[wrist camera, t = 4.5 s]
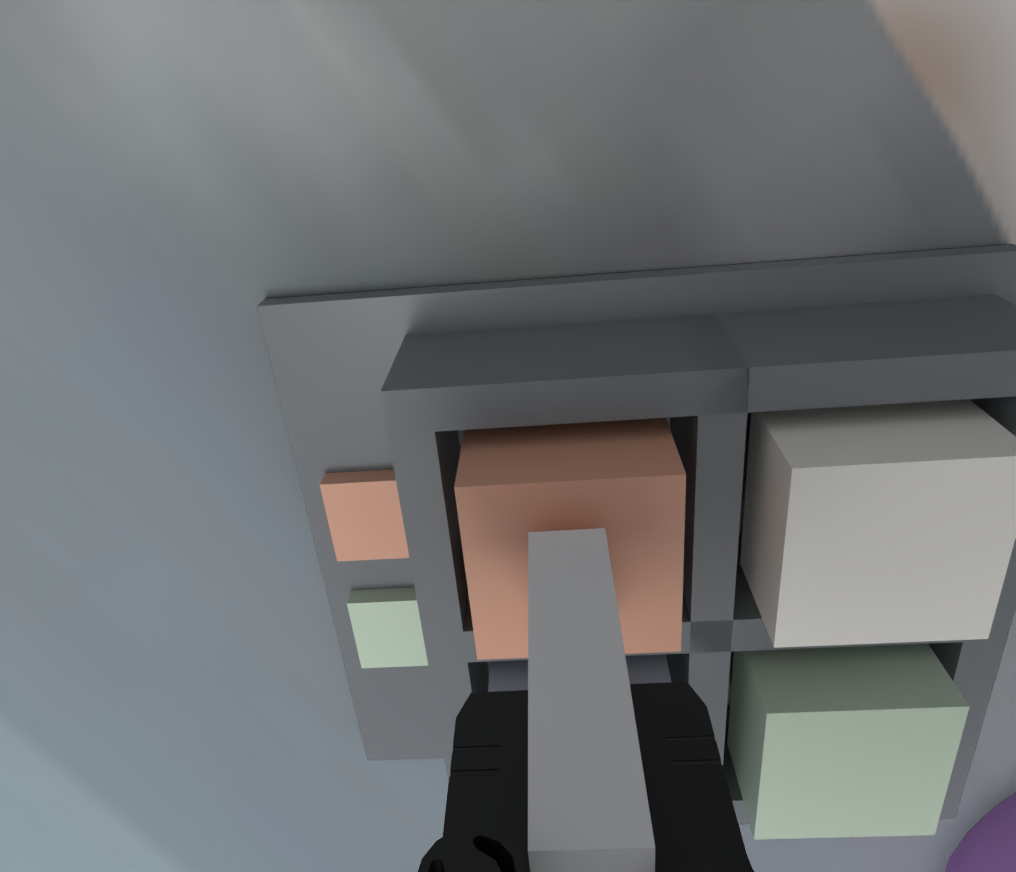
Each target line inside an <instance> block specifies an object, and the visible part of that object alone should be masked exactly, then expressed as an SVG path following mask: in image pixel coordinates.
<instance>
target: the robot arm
mask: <svg viewBox="0 0 1016 872" xmlns="http://www.w3.org/2000/svg"><path fill="white" fill-rule="evenodd" d="M418 872H754V871H753V869H752V867H751V864H750V862H749V859H748V857H747V854H746V851H745V847H744V843H743V839H742V836H741V832H740V828H739V824H738V821H737V817H736V813H735V809H734V806H733V802H732V798H731V795H730V791H729V787H728V783H727V780H726V776H725V772H724V768H723V765H722V764H721V757H720V754H719V750H718V746H717V742H716V741H715V735H714V731H713V727H712V724H711V720H710V716H709V712H708V709H707V706H706V705H705V703H704V702H703V701H702V700H701V698H700V697H699V696H698V695H697V693H696V692H695V691H694V690H693V688H692V687H691V686H690V685H689V683H688V682H666V683H642V684H630V683H629V677H628V670H627V664H626V657H625V651H624V645H623V638H622V632H621V626H620V619H619V613H618V606H617V600H616V594H615V587H614V581H613V575H612V568H611V562H610V555H609V549H608V543H607V536H606V530H605V528H597V529H579V530H560V531H542V532H528V690H518V691H494V692H471V693H470V695H469V697H468V698H467V700H466V702H465V703H464V705H463V707H462V708H461V710H460V712H459V713H458V715H457V717H456V721H455V730H454V739H453V752H452V758H451V767H450V776H449V785H448V794H447V804H446V813H445V822H444V831H443V837H442V838H441V839H439V840H437V841H436V842H435V843H434V845H433V846H432V847H431V848H430V850H429V851H428V852H427V853H426V855H425V856H424V857H423V858H422V861H421V864H420V867H419V870H418Z"/></svg>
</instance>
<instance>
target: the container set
mask: <svg viewBox="0 0 1016 872" xmlns="http://www.w3.org/2000/svg"><path fill="white" fill-rule="evenodd" d="M945 872H1016V792H1015V793H1014V794H1013V795H1011V796H1010V797H1008V798H1007V799H1005V800H1004V801H1002V802H1001V803H999V804H998V805H996V806H995V807H994V808H993V809H992V810H991V811H990V812H989V813H988V814H987V815H986V816H984V817H983V818H982V819H981V820H980V821H979V822H978V823H977V824H976V825H975V826H974V827H973V828H972V829H971V830H970V831H969V832H968V833H967V834H966V836H965V837H964V839H963V840H962V841H961V843H960V844H959V846H958V847H957V848H956V850H955V851H954V853H953V854H952V855H951V857H950V859H949V862H948V864H947V867H946V869H945Z"/></svg>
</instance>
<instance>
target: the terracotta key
mask: <svg viewBox="0 0 1016 872" xmlns="http://www.w3.org/2000/svg"><path fill="white" fill-rule="evenodd" d="M454 490H455V497H456V505H457V512H458V520H459V527H460V535H461V542H462V549H463V557H464V564H465V572H466V579H467V587H468V594H469V602H470V609H471V616H472V624H473V631H474V639H475V646H476V654H477V660H486V659H510V658H528V532H542V531H560V530H579V529H597V528H605V530H606V536H607V543H608V549H609V555H610V562H611V568H612V575H613V581H614V587H615V594H616V600H617V606H618V613H619V619H620V626H621V632H622V638H623V645H624V651H625V654H632V653H657V652H681V635H682V601H683V567H684V533H685V499H686V473H685V470H684V467H683V464H682V461H681V459H680V456H679V453H678V450H677V447H676V445H675V442H674V439H673V436H672V433H671V431H670V428H669V425H668V422H667V420H666V418H651V419H635V420H618V421H602V422H585V423H569V424H552V425H536V426H520V427H503V428H487V429H470V430H464V435H463V441H462V447H461V452H460V458H459V463H458V469H457V474H456V480H455V486H454Z"/></svg>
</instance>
